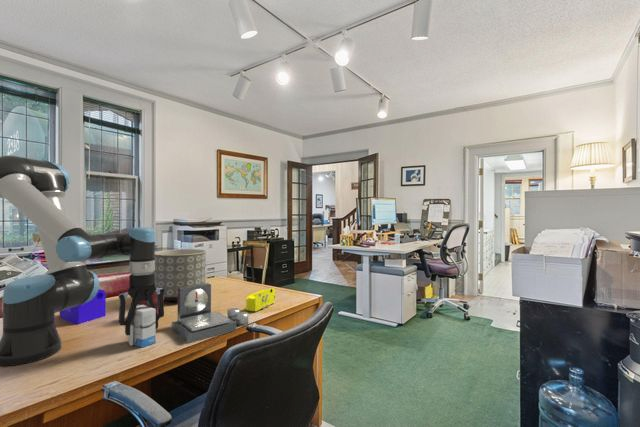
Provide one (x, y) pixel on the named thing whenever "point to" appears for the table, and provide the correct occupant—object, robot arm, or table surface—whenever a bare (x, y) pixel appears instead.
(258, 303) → the yellow toy chassis
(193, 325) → the scale pan
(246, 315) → the cylinder
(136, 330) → the ink box
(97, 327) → the table surface
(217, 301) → the table surface
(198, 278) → the planter
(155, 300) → the mechanical component
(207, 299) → the base
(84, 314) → the bracket
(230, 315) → the cylinder
